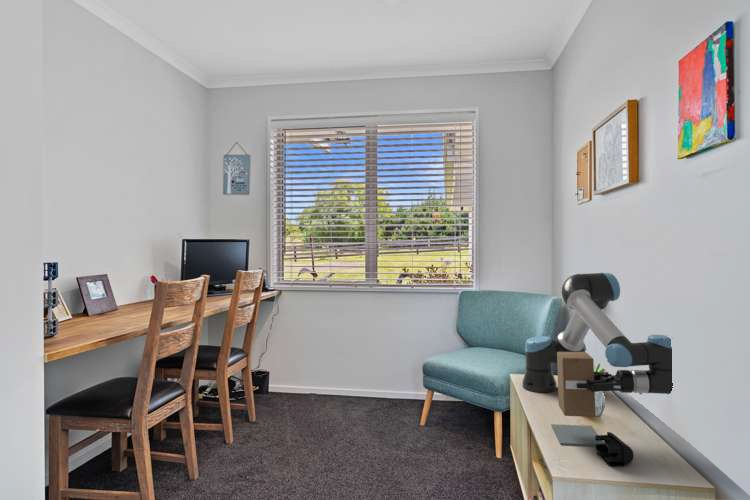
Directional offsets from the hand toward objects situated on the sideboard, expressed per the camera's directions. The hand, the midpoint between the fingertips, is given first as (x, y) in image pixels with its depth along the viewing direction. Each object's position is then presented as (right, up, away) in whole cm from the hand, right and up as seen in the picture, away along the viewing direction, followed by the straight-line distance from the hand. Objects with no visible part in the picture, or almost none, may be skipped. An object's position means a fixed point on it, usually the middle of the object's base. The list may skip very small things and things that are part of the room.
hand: (562, 380), depth 159 cm
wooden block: (+5, -11, -1) cm, 12 cm away
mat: (+5, -19, 0) cm, 20 cm away
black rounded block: (+8, -20, -18) cm, 28 cm away
